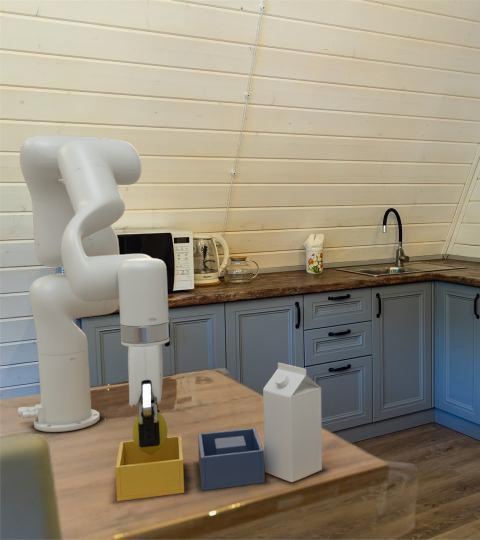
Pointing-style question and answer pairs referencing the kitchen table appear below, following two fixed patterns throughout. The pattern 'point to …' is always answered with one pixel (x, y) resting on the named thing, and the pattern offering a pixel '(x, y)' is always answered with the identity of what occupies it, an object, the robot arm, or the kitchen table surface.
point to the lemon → (163, 435)
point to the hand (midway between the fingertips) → (150, 438)
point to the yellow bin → (149, 470)
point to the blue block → (230, 445)
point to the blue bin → (230, 461)
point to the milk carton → (292, 424)
